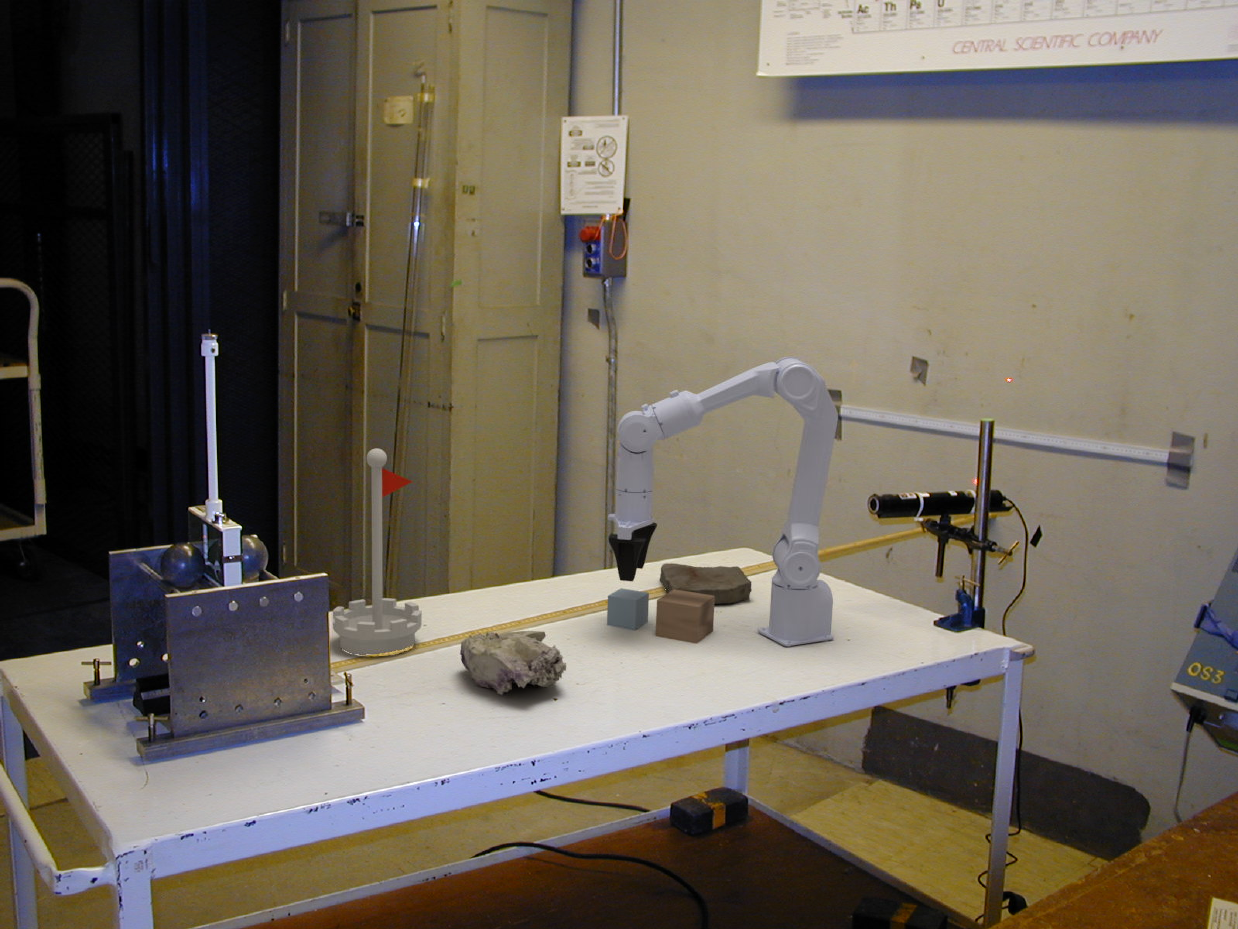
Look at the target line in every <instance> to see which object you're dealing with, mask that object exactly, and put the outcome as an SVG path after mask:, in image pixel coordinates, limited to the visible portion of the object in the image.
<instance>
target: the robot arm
mask: <svg viewBox="0 0 1238 929" xmlns="http://www.w3.org/2000/svg"><path fill="white" fill-rule="evenodd" d="M775 393H776V394H777V395H779V396H780V397H781V398H782V399H783V400H784V401H785V402H787V403H788V404H790V405H791V406H792V407H793V408H794V410H795V411H796V412H797V413H798V415H799V417H801V419H803V430H802V433H801V434H802V435H801V440H800V445H799V450H798V451H799V452H798V457H797V463H796V467H795V468H796V469H795V474H794V479H793V485H792V491H791V495H790V500H789V501H790V502H789V508H788V512H787V513H788V514H787V518H786V521H785V522H784V524H783V525H782V526H783V527H782V531H781V534H780V537H779V539H778V540H777V541H776V543H775V544H774V545H773V548H772V554H771V555H772V556H771V557H772V560H773V563H774V565H775V566H776V567H777V570H776V571H775V573H774V574H773V576H772V577H771V589H770V604H769V605H770V606H769V622H768V623H769V626H768V627H762V628H761V627H760V628H758V629H757V633H759V634H761V635H763V636H765V637H766V638H769V639H771V640H772V641H773V642H774V641H775V642H776V643H778V644H780V645H782V646H784V647H791V646H799V645H803V644H804V645H805V644H811V643H818V642H823V641H829V640H834V638H835V637H834V635H833V634H832V621H833V606H834V605H833V603H834V598H833V593H832V592H833V591H832V590H831V587H830V586H829V584H828V583H827V582H826V581H825V580H822V579H818V578H819V576H820V574H821V571H822V564H821V561H820V557H819V546H820V538H819V537H820V535H819V525H820V520H821V513H822V507H823V502H824V497H825V492H826V488H827V487H826V485H827V480H828V475H829V470H830V465H831V460H832V459H831V458H832V454H833V448H834V443H835V436H836V432H837V427H838V426H837V425H838V421H839V413H838V411H837V408H836V406H835V404H834V401H833V399H832V396H831V395H830V392H829V390H828V386H827V385H826V380H825V379H824V377H823V376H821V374H820V373H819V372H818V371H817V370H816V369H815V368H813V366H812V365H810V364H808V363H805V362H804V361H803V360H801V359H800V358H798V357H794V356H785V357H782V358H780V359H778V360H777V361H775V362H774V361H769V362H766V363H764V364H761V365H758V366H755V367H753V368H750V369H748V370H746V371H744V372H742V373H740V374H738V375H736V376H733V377H731V378H729V379H727V380H725V381H723V382H720V383H719V384H716V385H714V386H712V387H710V388H708V389H705V390H703V391H701V392H699V393H696V394H695V393H694V392H691V391H689V390H682V391H681V392H679V391H678V389H674V390H673V391H670V392H669V397H667V398H664V399H662V400H659V401H657V402H655V403H652V404H649V405H648V403H644V404H643V405H641V410H642V411H641V410H633V411H629V412H626V413H625V414H623V416H622V418H620V420H619V423H618V426H617V428H616V431H617V434H618V435H617V436H618V439H619V441H620V443H619V446H618V451H617V452H618V453H617V454H618V458H617V460H616V461H617V462H616V492H615V495H616V496H615V513H609V514H608V515H607V521H612V522H614V523H615V525H616V527H617V533H610V534H609V535H608V540H607V541H608V543H609V545H610V547H611V550H612V551H613V554H614V556H615V562H616V567H617V573H618V578H619V581H623V582H634V580H635V578H636V575H637V574H636V573H637V570H638V569H642V570H643V568H644V566H645V563H646V558H647V555H648V550H649V546H650V542H651V540H652V537H653V534H654V533H655V530H656V528H657V527H658V523H656V522H654V516H653V509H654V508H653V502H654V500H653V499H654V480H655V478H654V476H655V475H654V472H655V460H654V458H653V457H654V445H656V442H657V441H659V440H660V441H664V440H666V439H669V438H671V437H674V436H676V435H679V434H682V433H684V432H686V431H688V430H691V429H692V428H695V427H697V426H699V425H701V423H702V422H703V419H704V416H705V415H706V414H708V413H710V412H713V411H715V410H718V409H720V408H723V407H725V406H728V405H731V404H733V403H736V402H739V401H741V400H743V399H744V400H745V399H746V398H749V397H752V396H758V397H763V398H771V399H775V396H776V394H775Z"/></svg>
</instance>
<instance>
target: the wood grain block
mask: <svg viewBox="0 0 1238 929" xmlns="http://www.w3.org/2000/svg"><path fill="white" fill-rule="evenodd" d="M714 601H715V596H713V595H706V594H700V593H694V592H688V591H682V590H675V589H674V590H672V591H671V592H669V593H666V594H664V595H663V596H661V597H660V598H658V599H657V600H656V611H655V612H656V616H655V637H658V638H664V639H670V640H676V641H681V642H685V643H692V644H699V642H701V641H702V640H703V639H705V638H706V637H707V636H709V635H710V634H711V633H713V632H714V622H715V621H714V618H715V604H714Z"/></svg>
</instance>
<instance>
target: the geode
mask: <svg viewBox="0 0 1238 929" xmlns="http://www.w3.org/2000/svg"><path fill="white" fill-rule="evenodd" d="M545 632H546V631H541V630H526V631H525V630H521V631H508V632H503V633H502V632H501V633H499V634H498V633H497V632H493V631H486V633H485V634H482V633H481V632H479V633H477V634H475V635H473V636H472V635H471V634H470V635H469V636H468V637H466V638H464V639H463V640H462V641H461V643H460V653H459V655H460V660H461V663H462V665H463V666H464V668H465V669H466V671H468V672H469V673H470V675H471V676H470V677H471V678H472V679H473V680H474V681H475V684H476V686H477V687H481V688H487V689H494V691H496V693H497V694H498V695H501V696H502V695H503V694H504V693H508V692H509V691H510V690H511V691H512V686H513V684H516V685H517V686H518V688H520V687H521V688H522V689H525V687H526V686H527V684H530V685H531V686H536V685H537V686H540V687H541V688H548V687H549V686H550V685H553V684H556V683H557V682H558V681H560V679H562V677H563V676H562V675H563V673H564V674H565V672H566V671H567V662H563V657H564V655H562V654H561V651H560V649H558V648H557V647H556V644H555V645H553V646H552V647H550V646H548V645H547V644H546V643H544V642H543V641H544V639H545V638H546V633H545ZM512 683H513V684H512Z"/></svg>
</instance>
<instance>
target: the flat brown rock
mask: <svg viewBox="0 0 1238 929" xmlns="http://www.w3.org/2000/svg"><path fill="white" fill-rule="evenodd" d="M744 572H745V571H743V570H742V569H741V567H739V566H721V565H719V566H712V567H711V566H692V565H688V564H680V563H673V562H670V563H663V564H662V565H661V568H660V578H659V581H660V583H661V584H662V587H663V586H664V587H665V589H666V592H665V593H666V594H668V593H669V592H671V591H672V590H674V589H675V590H682V591H688V592H694V593H700V594H706V595H713V596H715V601H714V605H717V604H718V605H720V604H734V603H738V602H741V601H748V600H750V595H751V592H752V581H751V579H749V578H748V576H746V575H745V573H744ZM664 587H663V588H664ZM665 589H664V590H665Z"/></svg>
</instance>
